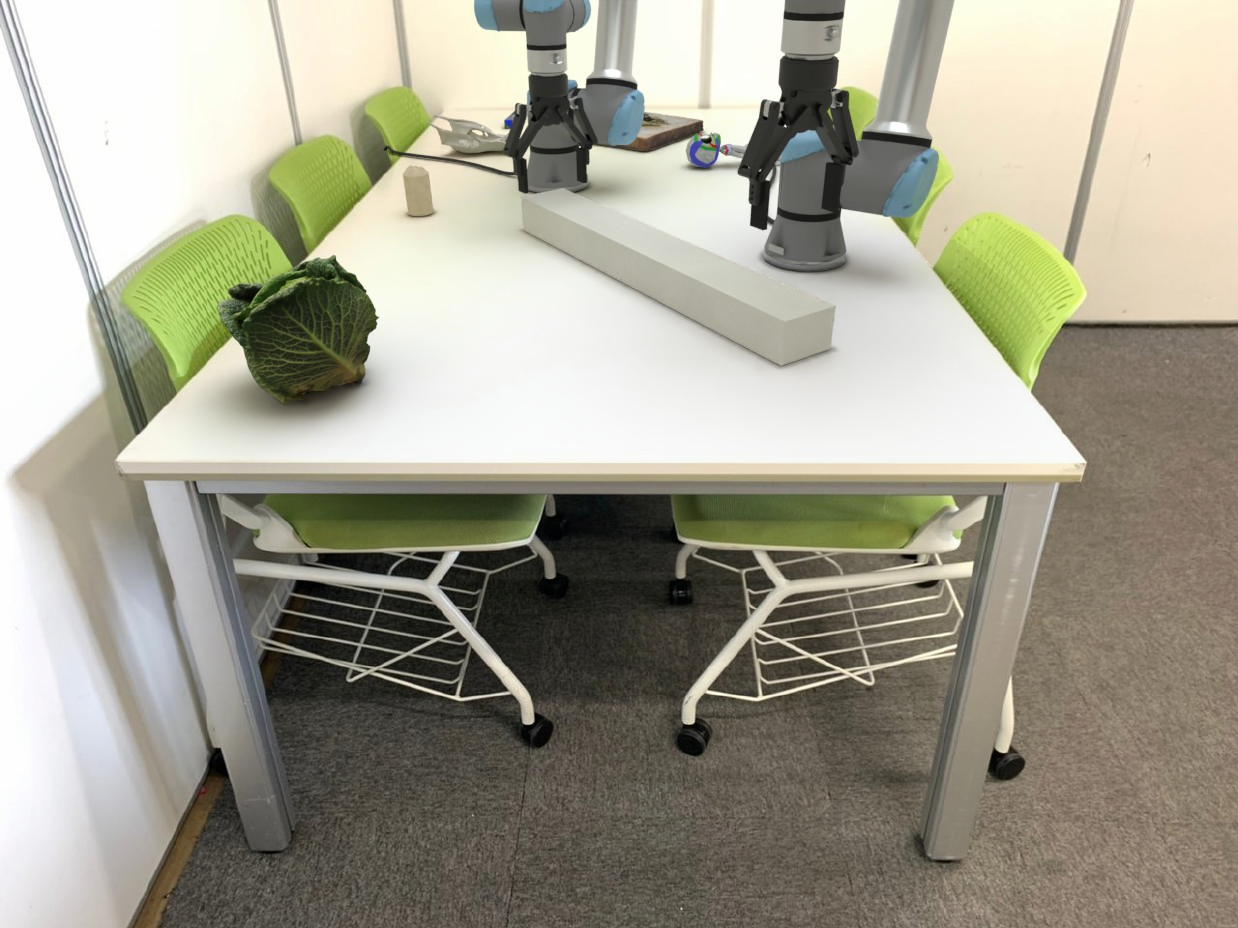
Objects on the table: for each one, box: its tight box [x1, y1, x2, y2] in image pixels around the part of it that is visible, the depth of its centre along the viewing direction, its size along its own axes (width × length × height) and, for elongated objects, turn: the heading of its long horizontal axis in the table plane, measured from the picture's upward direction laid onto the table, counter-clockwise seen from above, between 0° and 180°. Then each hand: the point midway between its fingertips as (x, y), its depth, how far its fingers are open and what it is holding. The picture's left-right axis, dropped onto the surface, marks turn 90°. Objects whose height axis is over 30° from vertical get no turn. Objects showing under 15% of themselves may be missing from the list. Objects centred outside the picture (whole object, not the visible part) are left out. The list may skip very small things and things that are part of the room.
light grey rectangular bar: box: [520, 188, 837, 367], centre depth 159 cm, size 79×10×7 cm, turn 34°
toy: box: [685, 132, 782, 168], centre depth 228 cm, size 10×8×30 cm
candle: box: [402, 165, 434, 217], centre depth 195 cm, size 6×6×10 cm
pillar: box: [503, 110, 515, 129], centre depth 277 cm, size 2×2×20 cm
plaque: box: [597, 111, 705, 152], centre depth 257 cm, size 30×7×30 cm
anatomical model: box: [427, 114, 509, 154], centre depth 243 cm, size 15×9×25 cm
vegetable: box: [216, 254, 380, 405], centre depth 123 cm, size 20×19×20 cm
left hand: (553, 187), depth 181 cm, fingers open, 13 cm apart
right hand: (794, 219), depth 127 cm, fingers open, 13 cm apart
